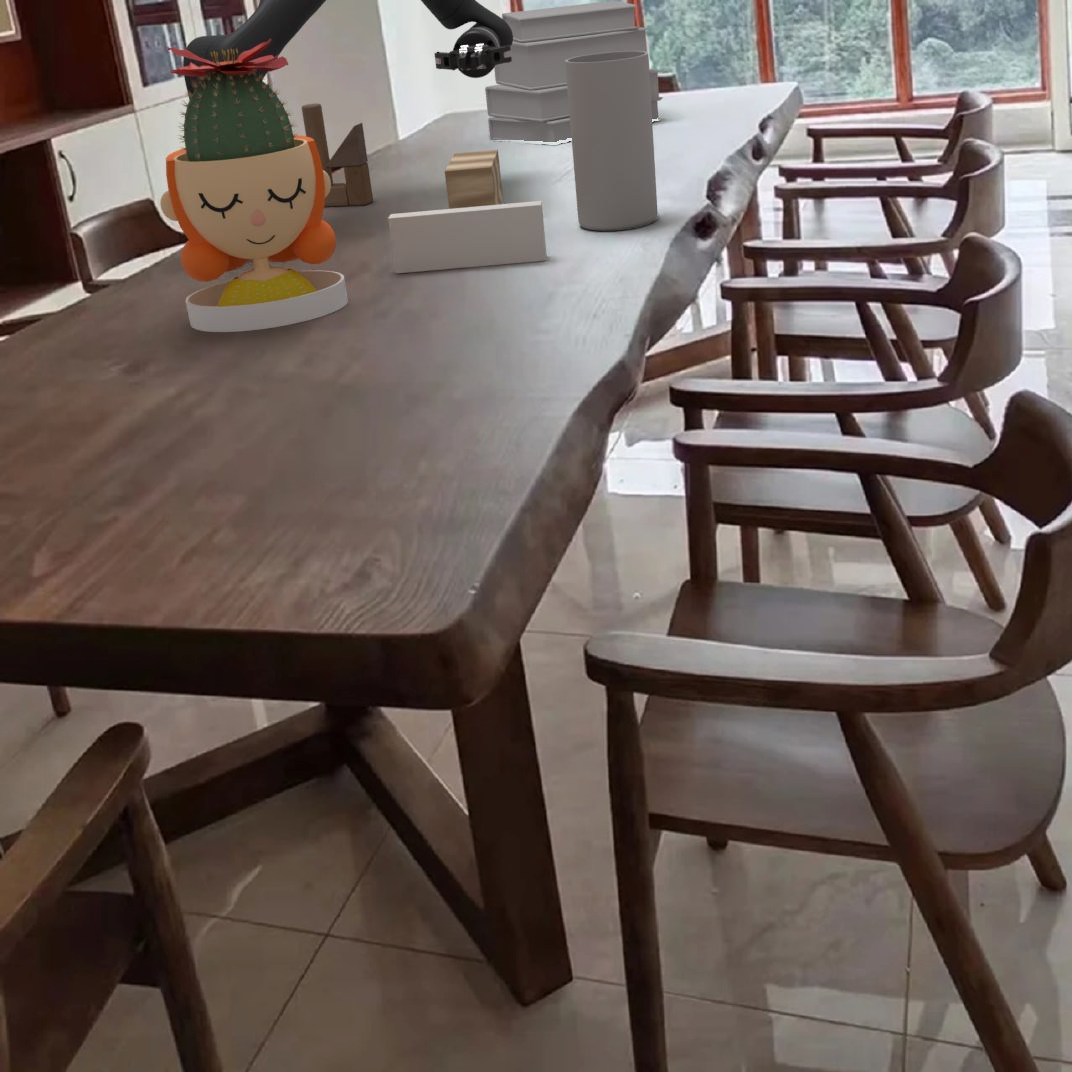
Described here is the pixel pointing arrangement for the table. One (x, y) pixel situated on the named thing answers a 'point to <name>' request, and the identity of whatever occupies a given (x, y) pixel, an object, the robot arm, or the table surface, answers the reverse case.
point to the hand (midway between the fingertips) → (468, 62)
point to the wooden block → (341, 160)
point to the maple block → (474, 179)
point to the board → (468, 237)
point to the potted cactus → (249, 201)
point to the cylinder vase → (612, 140)
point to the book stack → (555, 66)
